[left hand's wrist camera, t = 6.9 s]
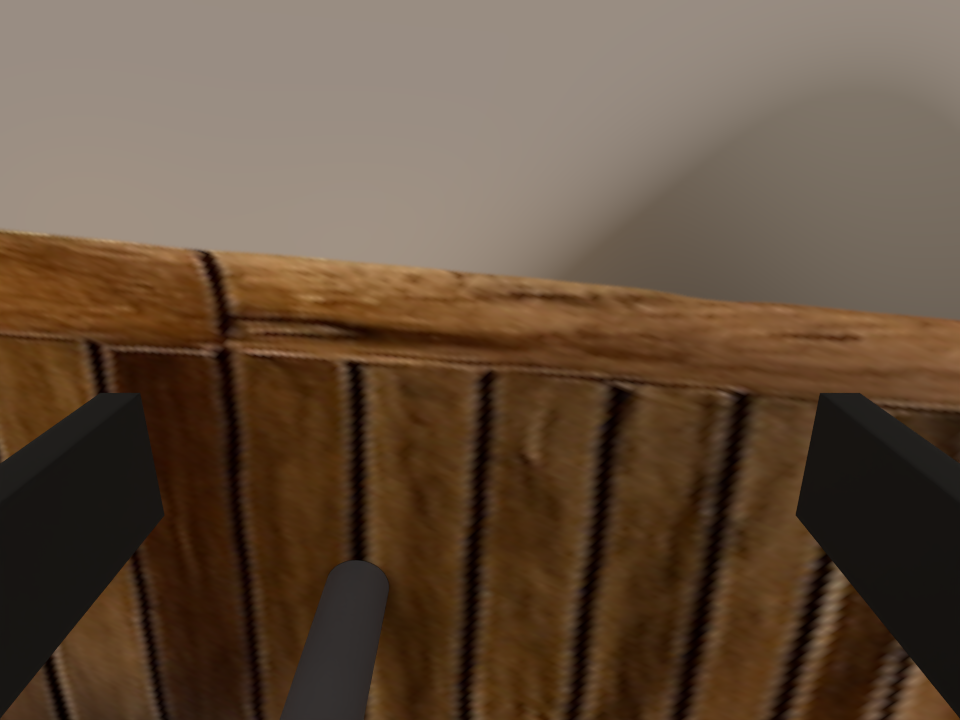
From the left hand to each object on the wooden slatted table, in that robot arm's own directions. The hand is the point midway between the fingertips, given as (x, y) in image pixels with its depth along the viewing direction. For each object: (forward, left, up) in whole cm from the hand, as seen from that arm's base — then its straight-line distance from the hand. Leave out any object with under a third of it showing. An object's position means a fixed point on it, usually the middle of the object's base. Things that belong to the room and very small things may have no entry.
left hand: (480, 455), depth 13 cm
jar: (-26, +9, -28) cm, 40 cm away
